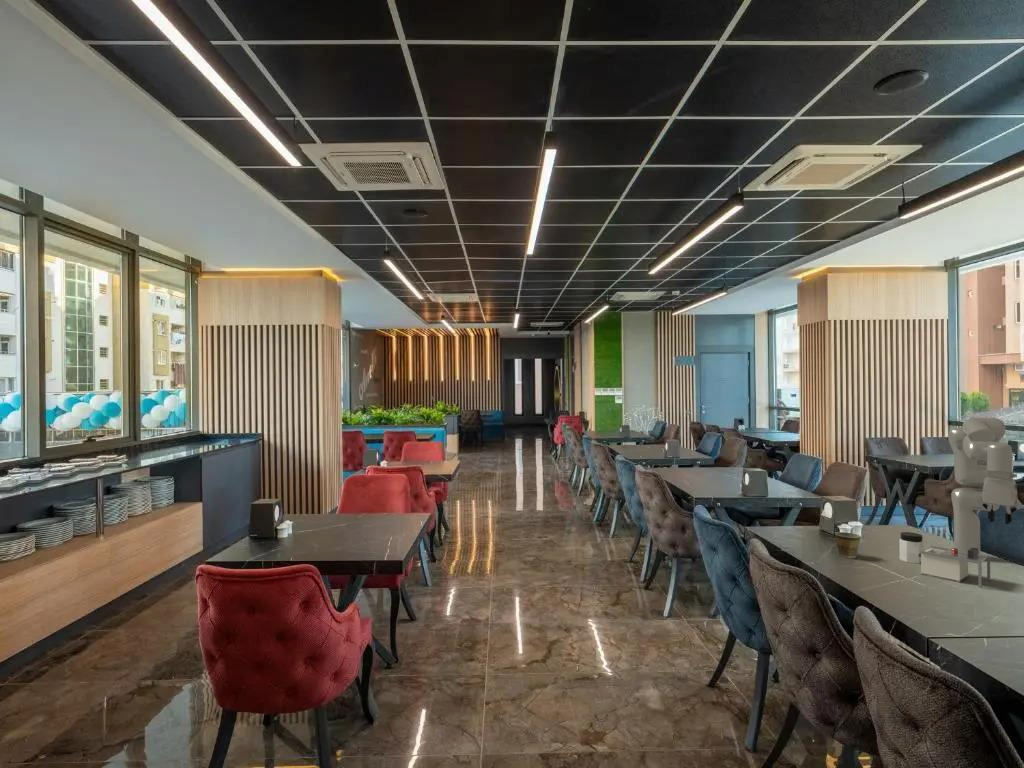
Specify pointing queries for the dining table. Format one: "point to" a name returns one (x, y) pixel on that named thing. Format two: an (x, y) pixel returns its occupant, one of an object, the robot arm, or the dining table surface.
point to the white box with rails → (948, 566)
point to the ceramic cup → (847, 544)
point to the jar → (910, 547)
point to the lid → (966, 554)
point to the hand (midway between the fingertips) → (999, 522)
